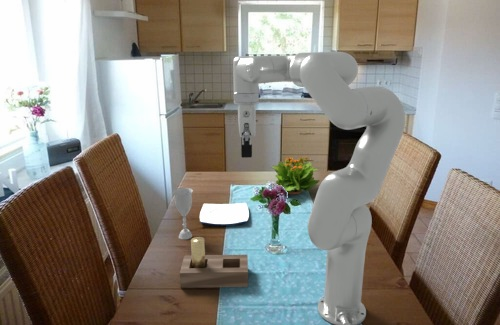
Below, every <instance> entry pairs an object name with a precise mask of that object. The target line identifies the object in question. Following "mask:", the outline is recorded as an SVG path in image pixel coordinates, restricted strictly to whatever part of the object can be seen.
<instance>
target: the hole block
mask: <svg viewBox="0 0 500 325" xmlns="http://www.w3.org/2000/svg"><path fill="white" fill-rule="evenodd" d="M248 256H249V255H248V254H205V268H192V254H191V255H189V254H188V255H184V256H183V260H182V263H181V267H180V270H179V282H180V286H179V287H180V288H182V289H185V288H187V289H189V288H191V289H192V288H197V289H198V288H246V287H249V262H248V261H249V260H248V259H249V258H248Z"/></svg>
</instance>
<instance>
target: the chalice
mask: <svg viewBox="0 0 500 325" xmlns="http://www.w3.org/2000/svg"><path fill="white" fill-rule="evenodd" d="M193 192H194V190H193V189H192V188H190V187H189V188H188V187H182V188H178V189H174V190H173V192H172V193H173V195H174V203H175V204H174V205H175V207H176V209H177V211H178V212H179V214H180V215H181V216H182V221H183V223H182V226H183V229H181V231H180V232H179V235H178V239H180V240H189V239H192V238H193V235H192V232H191V231H190V229H188V228H187V225H188V223H187V217H186V216H188V214H189V212H190V211H191V208H192V204H193V197H192V193H193Z"/></svg>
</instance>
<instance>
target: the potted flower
mask: <svg viewBox="0 0 500 325" xmlns="http://www.w3.org/2000/svg"><path fill="white" fill-rule="evenodd" d="M307 162H308V163H307ZM312 165H313V163H312V161H309V157H308V156H305V157H302V156H300V157H299V159H294V157H287V158H285V162H283V161H280V160H279V161H278V163H277V165H276V164H274V165H272V166H270V168H271V169H274V172H276V173H277V174H276V175H275V177H276V178H277V180H275V183H276V185H277V184H278V185H277V186H280V185H282V186H283V187H284V188H285V190H286V191H287V192H288V194H287V195H300V194H301V193H302V192H303V191H307V192H308V191H309V190H310V189H311V188H312V187H313V186H315V185H317V184H318V183H319V182H320V180H319V179H315V177H313V176H314V172H318V171H319V169H318V168H316V167H315V166H312Z"/></svg>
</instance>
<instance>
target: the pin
mask: <svg viewBox="0 0 500 325" xmlns="http://www.w3.org/2000/svg"><path fill="white" fill-rule="evenodd" d="M205 246H206V245H205V238H204V237H202V236H195V237H191V238H190V249H191V250H190V251H191V255H192V268H205V255H206V249H205Z"/></svg>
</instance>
